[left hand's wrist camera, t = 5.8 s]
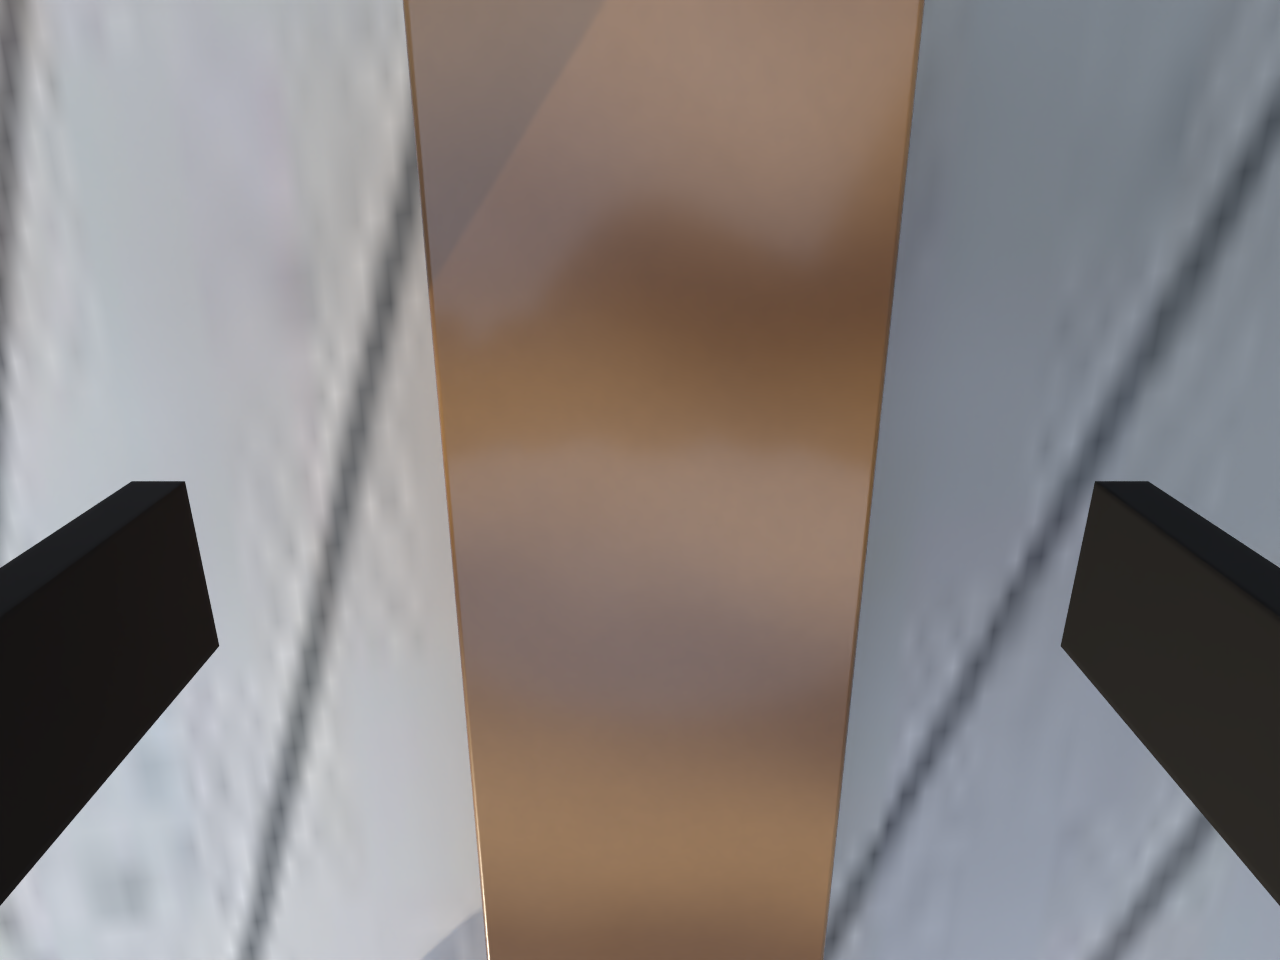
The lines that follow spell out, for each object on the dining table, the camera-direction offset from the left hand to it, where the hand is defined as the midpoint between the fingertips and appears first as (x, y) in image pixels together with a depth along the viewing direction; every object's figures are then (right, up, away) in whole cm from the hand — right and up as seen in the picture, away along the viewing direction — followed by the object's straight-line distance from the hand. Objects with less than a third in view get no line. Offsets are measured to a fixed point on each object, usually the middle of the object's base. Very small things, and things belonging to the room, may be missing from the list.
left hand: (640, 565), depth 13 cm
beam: (0, -27, +18) cm, 32 cm away
